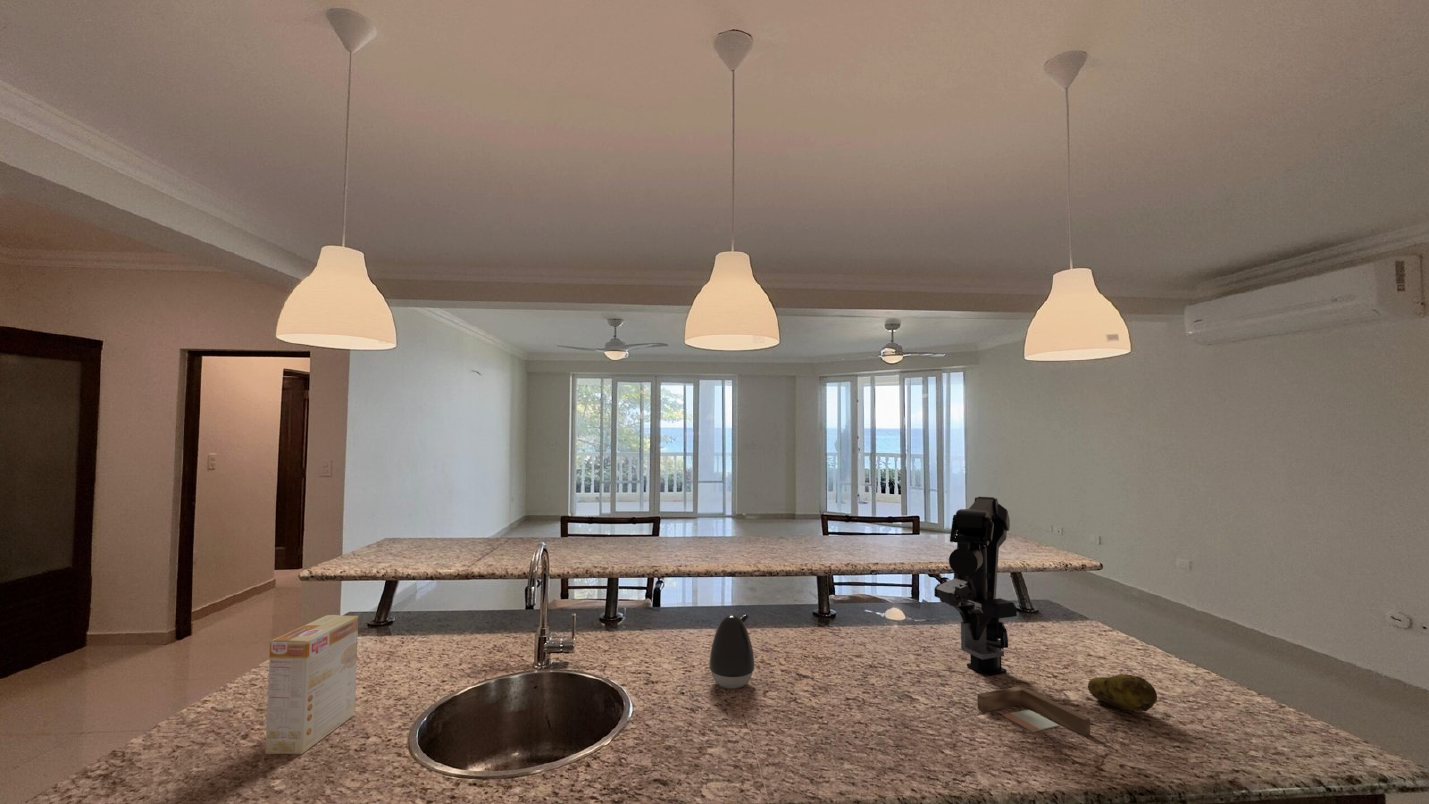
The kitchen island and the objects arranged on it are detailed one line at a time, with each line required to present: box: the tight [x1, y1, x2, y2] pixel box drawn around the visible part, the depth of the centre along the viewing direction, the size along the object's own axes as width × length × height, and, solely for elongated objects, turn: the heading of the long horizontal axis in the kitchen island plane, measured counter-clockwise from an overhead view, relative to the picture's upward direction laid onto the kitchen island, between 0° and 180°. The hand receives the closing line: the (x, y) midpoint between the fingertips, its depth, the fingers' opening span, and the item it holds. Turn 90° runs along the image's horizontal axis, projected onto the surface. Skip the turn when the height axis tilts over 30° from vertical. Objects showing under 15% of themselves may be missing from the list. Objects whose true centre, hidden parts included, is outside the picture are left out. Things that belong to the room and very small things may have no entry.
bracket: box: [960, 621, 1005, 660], centre depth 129 cm, size 6×6×6 cm
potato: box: [1087, 673, 1158, 712], centre depth 122 cm, size 8×13×8 cm, turn 0°
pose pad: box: [1002, 708, 1060, 733], centre depth 117 cm, size 7×7×1 cm
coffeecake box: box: [264, 614, 359, 755], centre depth 111 cm, size 15×7×20 cm, turn 178°
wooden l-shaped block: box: [976, 684, 1091, 737], centre depth 117 cm, size 12×16×3 cm
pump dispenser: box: [708, 614, 755, 690], centre depth 134 cm, size 10×10×15 cm
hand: (973, 639), depth 131 cm, fingers closed on bracket
